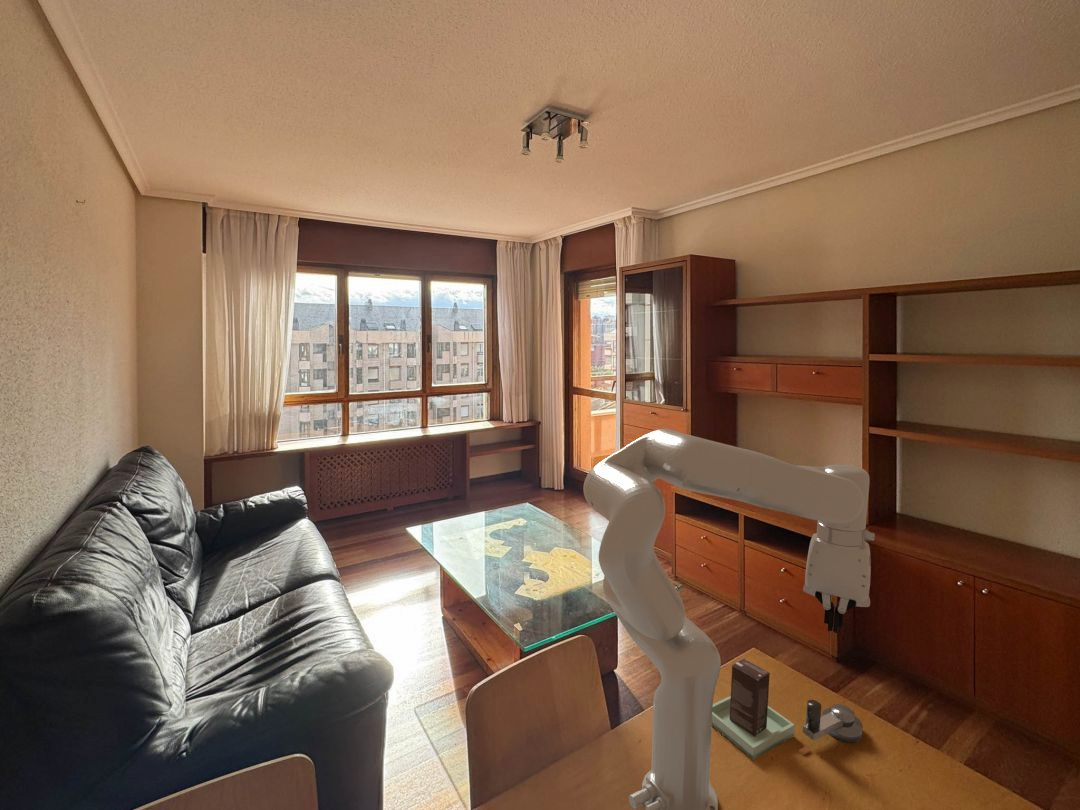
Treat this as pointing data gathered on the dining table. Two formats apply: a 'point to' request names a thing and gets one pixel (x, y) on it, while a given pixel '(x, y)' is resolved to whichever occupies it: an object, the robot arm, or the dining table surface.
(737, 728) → the tray
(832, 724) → the crank
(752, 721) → the box
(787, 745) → the dining table surface
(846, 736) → the crank base
